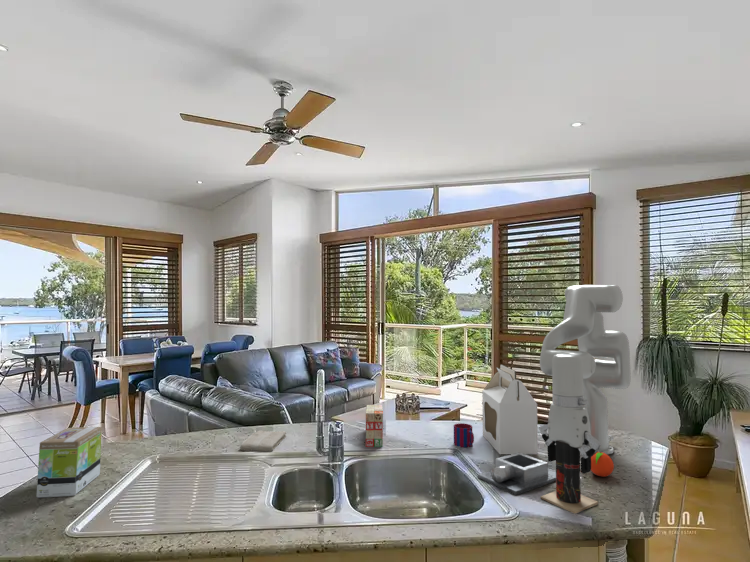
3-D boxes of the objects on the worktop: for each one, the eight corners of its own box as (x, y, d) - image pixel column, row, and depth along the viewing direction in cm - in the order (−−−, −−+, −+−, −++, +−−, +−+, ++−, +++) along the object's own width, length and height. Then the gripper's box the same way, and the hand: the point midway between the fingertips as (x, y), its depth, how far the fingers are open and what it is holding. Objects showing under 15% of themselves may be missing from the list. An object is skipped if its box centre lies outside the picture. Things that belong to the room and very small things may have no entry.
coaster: (563, 490, 125) (563, 487, 125) (598, 503, 116) (598, 501, 116) (540, 498, 119) (540, 496, 119) (575, 513, 111) (575, 511, 111)
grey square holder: (526, 463, 145) (526, 447, 145) (565, 477, 133) (565, 460, 134) (477, 477, 133) (477, 460, 133) (515, 495, 122) (515, 476, 122)
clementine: (609, 483, 129) (608, 458, 130) (583, 477, 134) (583, 453, 134) (616, 475, 135) (616, 451, 135) (592, 469, 140) (592, 446, 140)
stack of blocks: (366, 429, 182) (366, 399, 183) (382, 429, 182) (382, 399, 183) (365, 447, 161) (365, 412, 161) (382, 447, 161) (382, 412, 161)
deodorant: (583, 504, 115) (582, 445, 115) (558, 502, 116) (557, 443, 117) (577, 494, 121) (576, 438, 121) (554, 492, 122) (553, 436, 122)
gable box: (482, 435, 175) (481, 363, 176) (515, 434, 175) (515, 363, 176) (500, 455, 153) (499, 372, 154) (538, 454, 153) (537, 372, 154)
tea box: (76, 496, 120) (78, 440, 121) (35, 499, 119) (37, 442, 119) (101, 474, 135) (102, 425, 136) (64, 476, 134) (66, 426, 134)
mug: (467, 441, 167) (467, 422, 168) (479, 450, 158) (479, 430, 158) (450, 442, 166) (450, 423, 166) (462, 451, 156) (462, 431, 156)
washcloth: (287, 437, 173) (287, 429, 173) (272, 453, 155) (273, 444, 156) (257, 436, 174) (257, 428, 174) (239, 452, 156) (239, 443, 156)
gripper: (607, 405, 114) (608, 474, 113) (548, 393, 128) (549, 454, 128) (590, 409, 110) (591, 480, 109) (531, 396, 124) (532, 459, 124)
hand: (568, 466), depth 118 cm, fingers open, 9 cm apart
